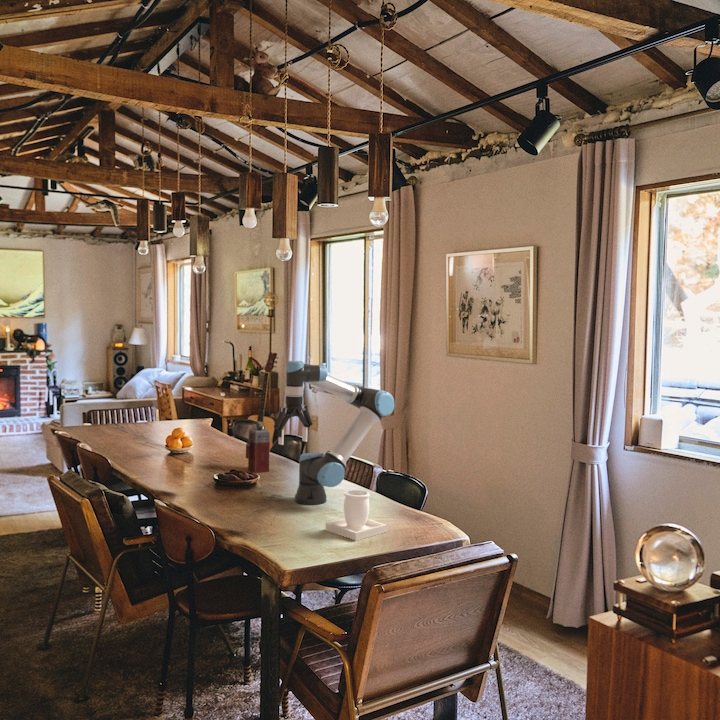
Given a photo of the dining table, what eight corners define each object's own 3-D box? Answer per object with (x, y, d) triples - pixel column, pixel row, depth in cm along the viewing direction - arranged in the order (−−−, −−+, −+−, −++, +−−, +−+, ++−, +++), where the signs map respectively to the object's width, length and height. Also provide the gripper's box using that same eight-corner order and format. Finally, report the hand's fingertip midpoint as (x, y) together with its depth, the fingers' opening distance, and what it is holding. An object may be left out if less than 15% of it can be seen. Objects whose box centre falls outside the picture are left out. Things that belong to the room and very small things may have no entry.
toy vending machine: (244, 470, 397) (245, 421, 396) (262, 468, 404) (263, 420, 402) (251, 473, 390) (252, 423, 388) (269, 471, 396) (270, 422, 395)
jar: (371, 526, 295) (372, 491, 294) (364, 533, 285) (366, 497, 284) (347, 523, 298) (348, 488, 297) (339, 530, 288) (341, 494, 287)
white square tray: (356, 522, 305) (356, 515, 304) (386, 532, 292) (387, 524, 292) (325, 530, 292) (325, 522, 292) (355, 541, 279) (355, 533, 279)
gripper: (310, 393, 324) (308, 438, 326) (266, 396, 307) (265, 444, 308) (320, 394, 319) (319, 441, 320) (277, 398, 301) (275, 447, 303)
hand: (293, 442), depth 314 cm, fingers open, 13 cm apart
